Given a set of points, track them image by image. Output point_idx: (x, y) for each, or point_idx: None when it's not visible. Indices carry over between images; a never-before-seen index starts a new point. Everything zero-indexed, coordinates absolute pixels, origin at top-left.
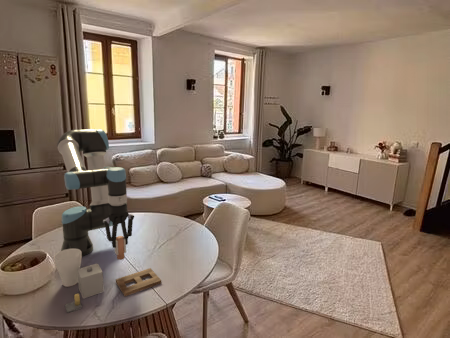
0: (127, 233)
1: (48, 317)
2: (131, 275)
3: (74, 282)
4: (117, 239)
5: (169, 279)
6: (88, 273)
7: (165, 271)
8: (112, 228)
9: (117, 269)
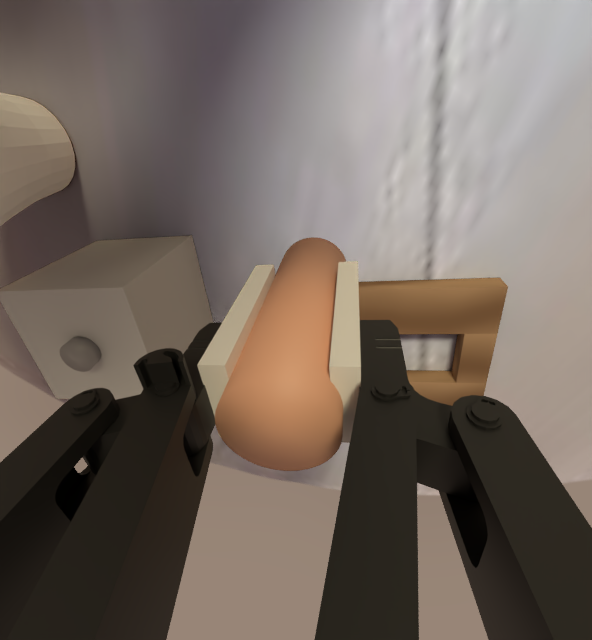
0: (440, 458)
1: (33, 362)
2: (364, 303)
3: (53, 193)
4: (236, 447)
5: (527, 400)
6: (85, 378)
7: (569, 329)
8: (14, 633)
9: (317, 131)
